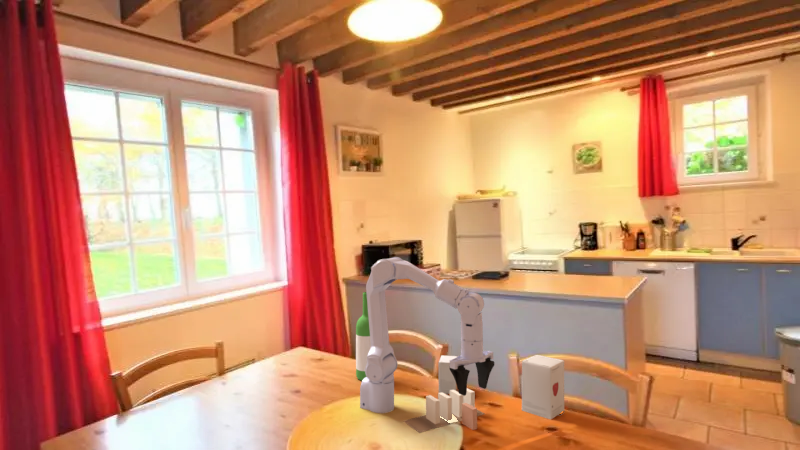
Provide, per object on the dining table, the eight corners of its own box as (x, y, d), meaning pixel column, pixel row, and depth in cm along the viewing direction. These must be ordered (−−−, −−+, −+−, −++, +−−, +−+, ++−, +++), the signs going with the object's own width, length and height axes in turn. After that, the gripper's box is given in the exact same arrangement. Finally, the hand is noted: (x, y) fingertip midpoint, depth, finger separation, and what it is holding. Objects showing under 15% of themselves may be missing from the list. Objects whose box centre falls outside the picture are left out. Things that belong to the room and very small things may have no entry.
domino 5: (472, 433, 112) (472, 409, 113) (461, 426, 116) (461, 403, 116) (477, 431, 113) (476, 408, 113) (466, 425, 117) (466, 402, 117)
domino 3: (459, 417, 120) (459, 395, 120) (449, 411, 124) (449, 390, 124) (463, 416, 120) (463, 394, 121) (453, 410, 124) (453, 389, 124)
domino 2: (447, 420, 118) (447, 398, 118) (438, 414, 122) (438, 393, 122) (451, 419, 118) (451, 397, 118) (442, 413, 122) (442, 392, 122)
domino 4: (470, 414, 122) (470, 392, 122) (460, 408, 126) (460, 387, 126) (474, 413, 123) (474, 391, 123) (464, 407, 126) (464, 386, 126)
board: (419, 435, 111) (419, 432, 111) (402, 423, 118) (402, 420, 118) (485, 416, 122) (485, 413, 122) (466, 406, 129) (466, 404, 129)
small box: (456, 397, 137) (456, 363, 137) (438, 395, 138) (438, 362, 138) (458, 387, 144) (458, 355, 145) (441, 386, 146) (441, 354, 146)
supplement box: (551, 422, 118) (551, 367, 118) (521, 413, 125) (520, 360, 125) (565, 412, 125) (565, 359, 125) (536, 403, 131) (535, 353, 131)
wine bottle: (353, 376, 156) (352, 291, 156) (373, 373, 159) (373, 290, 160) (360, 383, 149) (360, 294, 149) (381, 379, 152) (381, 293, 152)
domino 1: (435, 424, 116) (435, 401, 116) (426, 418, 119) (425, 396, 120) (439, 423, 116) (439, 400, 116) (430, 417, 120) (430, 395, 120)
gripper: (463, 346, 109) (463, 402, 109) (501, 337, 117) (502, 388, 117) (443, 341, 114) (444, 393, 114) (482, 333, 123) (482, 381, 123)
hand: (472, 390), depth 116 cm, fingers open, 7 cm apart
